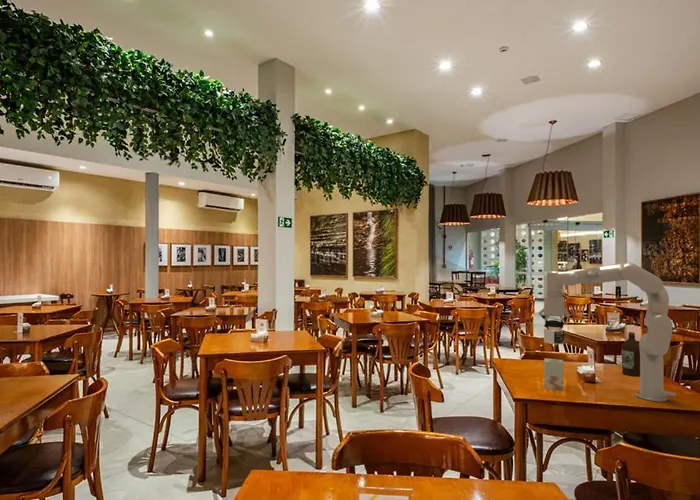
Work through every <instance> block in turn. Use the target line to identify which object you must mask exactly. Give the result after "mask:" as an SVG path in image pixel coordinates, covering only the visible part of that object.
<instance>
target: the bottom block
mask: <svg viewBox="0 0 700 500" xmlns="http://www.w3.org/2000/svg"><path fill="white" fill-rule="evenodd" d="M543 377H544V378H543V381H544V382H543V385H544V387H543V389H546V390H555V391H563V392H564V382H565V381H564V380H565V379H564V377H557V376H548V375H545V374H544V373H543Z"/></svg>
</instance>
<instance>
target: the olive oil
mask: <svg viewBox="0 0 700 500" xmlns="http://www.w3.org/2000/svg"><path fill="white" fill-rule="evenodd" d="M635 334H636V333H635V332H631V331H630V332H628V338H627V339H626V340H625V341H624V342H623V343H622V344H621V347H620V348H621V349H620V350H621V368H622V369H621V370H622V372H621V373H622V374H623V375H624V376H629V377H640V348H639V341H637V340H636V335H635Z"/></svg>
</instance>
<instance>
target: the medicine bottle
mask: <svg viewBox="0 0 700 500" xmlns="http://www.w3.org/2000/svg"><path fill="white" fill-rule="evenodd" d="M560 321H561V320H560ZM560 321H559V320H556V319H555V320H554V319H551V320H548V328H543V329H544V330H543V343H545V344H548V345H549V344H550V345H555V346H557V345H564V344H565V330H564V329H560Z"/></svg>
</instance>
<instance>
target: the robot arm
mask: <svg viewBox="0 0 700 500" xmlns="http://www.w3.org/2000/svg"><path fill="white" fill-rule="evenodd" d="M619 281H629V282H630V283H631V284H634V285H635V286H637V287H638V288H639V289H640V290H641V291H642V292H644V293H645V294H646V296H647V308H646V313H645V318H644V325H645V327H646V329H647V333H644V334H643V335H641V337H640V338H639V341H638V343H639V348H640V376H639V391H638V392H636V397H637V398H640V399H642V400H646V401H651V402H661V403H663V402H666V401H668V398H667V397H670V398H676V393H675V392H670V391H665V389H664V355H666V354H667V353H668V351H669V349H670V345H671V339H672V335H673V334H672V333H673V322H672V319H671V317H669V316H668V312H669V304H670V299H669V293H668V291H667V289H666V287H665V286H664V282H663V280H662V279H661V278H660V277H658V276H656V275H655V274H653V273H651V272H650V271H647V270H646V269H644V268H643V267H641V266H639V265H637V264H636V263H632V262H622V263H621V262H620V263H614V264H608V265H599V266H593V267H590V268H589V267H588V268H582V269H574V270H567V271H558V270H551V271H550V270H549V271H547V273H546V296H544V302H543V308H542V309H541V310H540V311H539V312H538V315H539V316H540V317H541V318H542V319H543V321H544V327H546V329H549V328H548V321H549V320H548V319H549V317H550V316H551V317H559V318H560V330H563V329H564V323H565V321H566V320H567V319H568V318H570V317H571V314H570V312H568V311H567V310H566V307H565V306H566V304H565V298H564V297H563V296H566V292H563V286H570V287H572V286H576V285H580V284H587V283H593V284H595V283H596V284H601V283H610V282H619ZM565 314H566V315H565Z"/></svg>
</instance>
